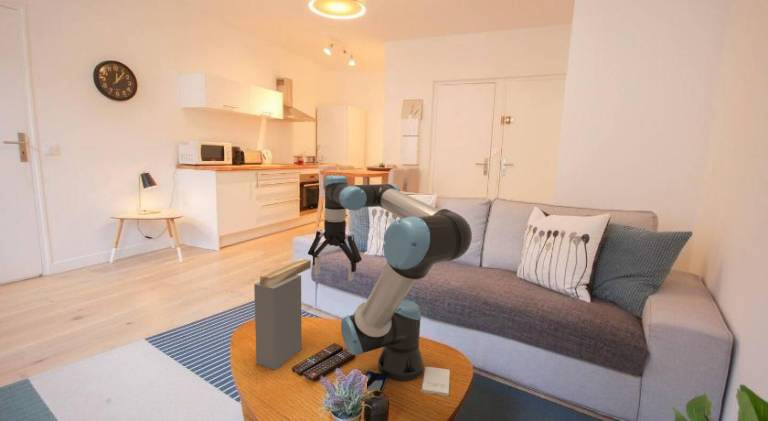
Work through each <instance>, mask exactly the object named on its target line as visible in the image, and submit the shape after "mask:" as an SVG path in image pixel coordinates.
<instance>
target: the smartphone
mask: <svg viewBox="0 0 768 421" xmlns="http://www.w3.org/2000/svg"><path fill="white" fill-rule="evenodd" d="M364 375H366V376H367V377H368V381H367V390H368V391H372V390H380V391H381V392H382V393H383V391H384V389H385V386H386V384H387V381H388V379H389V378H388V377H387V376H385V375H384V374H382V373H380V371H373V370H366V371H365V374H364Z"/></svg>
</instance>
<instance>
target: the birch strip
mask: <svg viewBox="0 0 768 421" xmlns="http://www.w3.org/2000/svg"><path fill="white" fill-rule="evenodd" d="M311 268H312V262H311V259H307V258H300V259H297V260H296V261H292V262H291V263H287V264H285V265H283V266H281V267H279V268H276V269H273V270H271V271H268V272H266V273H263V274H261V275H260V276H259V282H260V285H263V286H268V287H271V286H273V285H275V284H277V283H280V282H282V281H284V280H286V279H288V278H290V277H292V276H295V275H300V274H301V273H303V272H305V271H307V270H310V269H311Z"/></svg>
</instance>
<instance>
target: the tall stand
mask: <svg viewBox="0 0 768 421" xmlns="http://www.w3.org/2000/svg"><path fill="white" fill-rule="evenodd" d="M253 290H254V318H255V319H254V321H255V323H254V324H255V326H254V327H255V358H256V359H255V360H256V361H255V362H256V365H259V366H262V367H265V368H268V369H270V370H274V371H277V370H278V369H279V368H280V367H281V366H283V365H284V364H286V363H287V362H288V361H289V360H291V359H292V358H294V356H295V355H297V354H299V353H300V352H301V351H302V349H303V348H302V346H303V344H302V342H303V341H302V331H303V330H302V275H300V274H297V275H295V276H292V277H290V278H288V279H286V280H284V281H282V282H280V283H277V284H275V285H273V286H271V287H268V286H263V285H260V281H258V282H257V283H254V284H253Z"/></svg>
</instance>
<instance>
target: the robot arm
mask: <svg viewBox="0 0 768 421" xmlns="http://www.w3.org/2000/svg"><path fill="white" fill-rule="evenodd" d="M347 179H348V178H347V177H346V176H345V175H336V174H335V175H334V174H333V175H327V176H325V179H324V180H325V182H324V213H323V214H324V222H323V223H324V224H323V225H324V226H323V228H324V230H322V229H320V230H316V233H315V238H314V239H313V242H312V243H311V245H310V247H309V250H308V251H307V254H308V255H309V256H312V266H314V276H317V275H319V274H320V273H321V256H320V254H321V252H323V250H325V249H326V247H327V246H328V245H329V246H331V247H332V246H334V247H338V248H340V249H341V250H342V251H343V253H344V254H345V256H346V257H347V259H348V261H349V263H348V282H352V281H353V280H354V277H355V276H354V275H355V272H356V271H357V264H359V263H360V262H362V259H363V258H362V256H361V254H360V252H359V249H358V247H357V245H356V242H355V235H354V234H348V235H347V233H346V229H347V227H346V226H347V221H346V219H347V210H349V211H360V210H361V209H363V208H373V207H375V208H377V207H379V208H381V209H383V210H385V211H387V212H389V213H391V215H394V216H395V217H397V218H398V219H395V220H394V221H392V222H391V223H390V224H389V226H388V227H387V229H386V230H385V232H384V235H383V245H382V249H383V254H384V258H385V259H386V264H385V266H384V268H383V269H382V272H381V273H380V276H379V277H378V279H377V280H376V283H375V285H374V286H373V288H372V290H371V291H370V293H369V296H368V298H367V300H366V301H365V302H362V303H360V304H359V305H358V307H357V308H356V309H355V311H354V313H353V314H351V315H349V314H347V315H346V316H344V317H342V319H341V323H340V328H341V329H340V331H341V335H342V339H343V343H344V345H345V347H346V349H347V351H348V352H349V353H350V354H351V355H353V356H357V355H363V354H365V353H368V352H371V351H375V350H379V349H381V348H382V349H381V352H380V354H379V357H378V361H377V364H378V365H377V369H378V372H379V373H382V374H384V375H385V376H387V377H388V378H387V379H389V380H393V381H398V382H408V381H412V380H416V379H417V378H419V377H420V376H421V375H422V374H423V372H424V360H423V357H422V353H421V350H420V332H421V330H420V329H421V319H422V316H421V308H420V305H418V304H417V303H416V302H414V301H412V300H409V299H405V298H406V296H407V295H408V293H409V291H410V290H411V288H412V286H413V285H414V284H415V282H416V281H419V280H421V279H423V278H425V277H427V275H428V274H429V272H430V270H431V268H433V266H434V265H436V264H438V263H439V264H440V263H444V262H449V261H450V262H451V261H455V260H457V259H459V258H461V257H462V256H463V255H465V254H466V252H467V251H469V248H470V246H471V243H472V238H473V237H472V236H473V234H472V229H471V225H470V224H469V222H468V221H467V220H466V219H465V218H464V217H463V216H462V215H460V214H459V213H456V212H454V211H452V210H450V209H447V208H441V209H439V208H436V207H434V206H432V205H431V204H428V203H425V202H424V201H421V200H419V199H416V198H414V197H412V196H411V195H408V194H406V193H404V192H401V190H400V188H399V186H398V185H396V184H392V183H382V184H381V183H379V184H348V180H347ZM322 237H324V239H325V240H324V241H323V242H322V244H321V245H320V246H319V247H318V245H319V243H320V242H321V239H322ZM346 241H347V242H348V243H347V242H346ZM317 247H318V248H317Z"/></svg>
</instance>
